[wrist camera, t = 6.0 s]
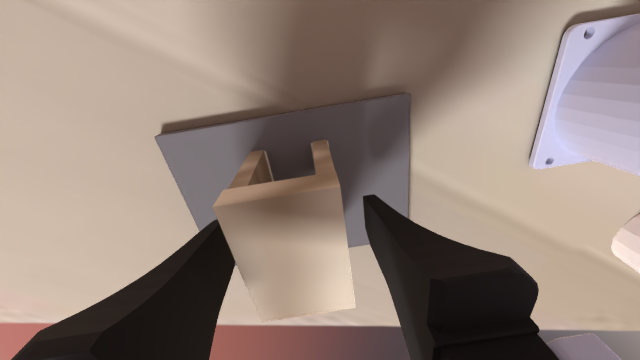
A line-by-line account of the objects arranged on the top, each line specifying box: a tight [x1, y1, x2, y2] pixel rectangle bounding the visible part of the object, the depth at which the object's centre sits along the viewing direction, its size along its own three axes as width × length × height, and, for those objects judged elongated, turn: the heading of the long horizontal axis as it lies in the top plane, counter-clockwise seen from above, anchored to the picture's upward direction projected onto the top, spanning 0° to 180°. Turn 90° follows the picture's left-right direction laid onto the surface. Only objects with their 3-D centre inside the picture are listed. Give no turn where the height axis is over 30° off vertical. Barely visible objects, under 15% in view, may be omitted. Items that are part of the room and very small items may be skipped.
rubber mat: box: [155, 93, 410, 266], centre depth 15 cm, size 14×10×1 cm
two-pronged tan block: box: [213, 139, 356, 322], centre depth 12 cm, size 4×6×6 cm
